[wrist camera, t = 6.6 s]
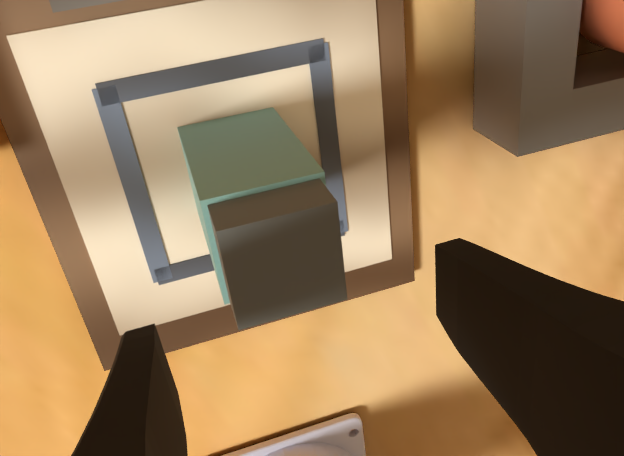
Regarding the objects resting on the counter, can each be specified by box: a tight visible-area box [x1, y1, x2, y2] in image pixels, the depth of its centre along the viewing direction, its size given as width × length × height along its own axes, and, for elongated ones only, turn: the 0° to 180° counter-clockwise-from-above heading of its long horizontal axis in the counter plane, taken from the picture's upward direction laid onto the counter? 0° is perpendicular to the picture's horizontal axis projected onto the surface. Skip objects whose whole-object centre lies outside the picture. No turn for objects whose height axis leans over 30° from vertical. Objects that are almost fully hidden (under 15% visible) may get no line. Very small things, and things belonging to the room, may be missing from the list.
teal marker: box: [177, 107, 348, 330], centre depth 17 cm, size 3×3×7 cm
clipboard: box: [0, 0, 415, 371], centre depth 20 cm, size 15×13×2 cm
